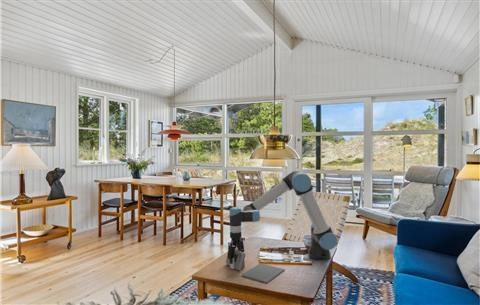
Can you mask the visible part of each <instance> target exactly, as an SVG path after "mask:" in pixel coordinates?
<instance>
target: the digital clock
mask: <svg viewBox="0 0 480 305" xmlns="http://www.w3.org/2000/svg"><path fill="white" fill-rule="evenodd" d="M227 256H228V254H227ZM227 256H226V260H225V264H226V265H228V266H229V267H230V259H229V258H227ZM245 257H246V253H245V252H244V253H243V252H241V251H239V250H238V249H237V248H235V252H234V257H233V258H234V269H235V270H238V271H242V269H243V268H245V267H246V266H245V265H246V264H245V259H246V258H245Z"/></svg>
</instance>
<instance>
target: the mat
mask: <svg viewBox="0 0 480 305" xmlns="http://www.w3.org/2000/svg"><path fill="white" fill-rule="evenodd" d="M285 270H286V269H285V268H281V267H277V266H272V265H268V264H264V263H261V262H260V263H259V264H256V265H255V266H253V267H252V268H250V269H249V270H247V271H245V272H244V273H242V274H241V275H240V276H241V277H243V278H247V279H250V280H254V281H256V280H257V281H256V282H259V283H260V282H261V283H265V284H268V283H270V282H271V281H272V280H274V279H275V278H276V277H278V276H279V275H281V274H282V273H284V272H285Z"/></svg>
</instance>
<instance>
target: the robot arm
mask: <svg viewBox="0 0 480 305" xmlns="http://www.w3.org/2000/svg"><path fill="white" fill-rule="evenodd" d="M313 189H314V187H313V185H312V179H311V177H310V176H309V175H308V174H307V173H305V172H302V171H300V170H293V171H291V172H290V173H289V174H287V175H286V176H285V177H283V178H281V181H280V182H279V183H278V184H276V185H274V186H273V187H272V188H271V189H269V190H268V191H266V192H265V193H263V194H262V195H260V196H259V197H258V198H256V199H254V200H253V201H252V202H251V203H249V204H246V205H245V206H243V209H242V208H241V207H239V206H233V207H230V208H229V238H230V239H231V240H230V241H229V242H228V243H227V244H228V246H227V255H228V256H226V259H227V258H229V259H230V266H229V268H230V269H232V270H233V269H235V268H234V258H233V257H234V252H235V249H237V250H239V251H241V252H243V253H245V246H244V237H242V223H256V222H259V221H260V218H261V213H260V211H261V210H263V209H264V208H266V207H267V206H268V205H270V204H271V203H273V202H274V201H275V200H277V199H278V198H280V197H281V196H282V195H283V194H285V193H287V192H288V191H289V192H290V191H292V190H293V191H294V193H295V195H296V196H297V197H299V199H300V200H301V202H302V204H303V207H304V209H305V212H306V214H307V215H308V218H309V220H310V222H311V225H310V247H309V249H308V257H309V258H311V259H314V260H318V261H320V260H321V261H323V260H324V261H325V260H328V259H329V260H330V259H331V250H333V249H334V248H335V247H336V246H337V244H338V237H337V235H336V234H335V233H334V232H333V229H332V227H331V225H330V224H329V223H327V222H326V220H325V217H324V216H323V214H322V211H321V208H320V207H319V204H318V202H317V200H316V197H315V195H314V193H313Z"/></svg>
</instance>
